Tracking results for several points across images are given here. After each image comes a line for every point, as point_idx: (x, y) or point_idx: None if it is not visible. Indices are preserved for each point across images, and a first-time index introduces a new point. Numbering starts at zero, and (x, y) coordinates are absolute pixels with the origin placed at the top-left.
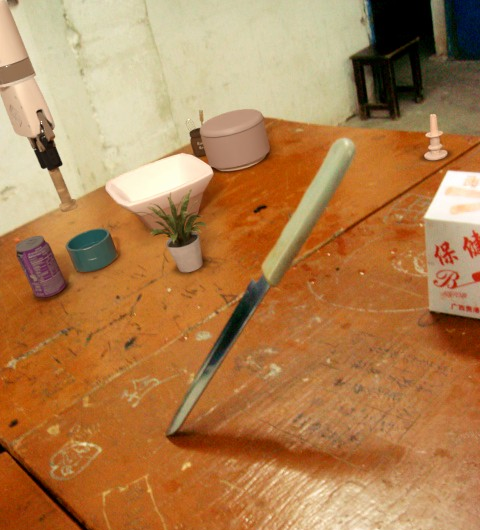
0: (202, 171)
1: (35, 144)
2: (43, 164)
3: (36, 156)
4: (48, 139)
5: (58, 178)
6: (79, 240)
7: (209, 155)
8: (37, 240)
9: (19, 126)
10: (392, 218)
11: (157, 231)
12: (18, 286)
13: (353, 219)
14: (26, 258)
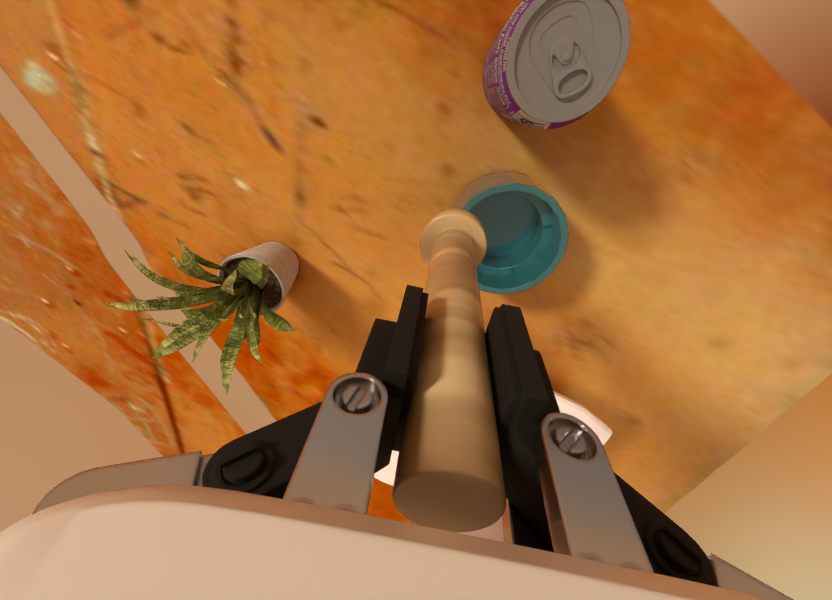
0: (394, 469)
1: (535, 460)
2: (495, 327)
3: (531, 359)
4: (130, 473)
5: (426, 290)
6: (554, 246)
7: (501, 520)
8: (548, 92)
9: None
10: (139, 404)
11: (248, 272)
12: (676, 49)
13: (177, 399)
14: None
